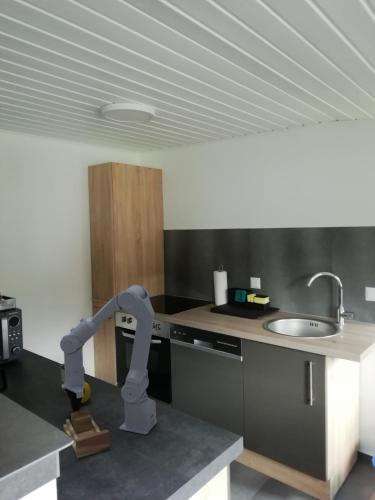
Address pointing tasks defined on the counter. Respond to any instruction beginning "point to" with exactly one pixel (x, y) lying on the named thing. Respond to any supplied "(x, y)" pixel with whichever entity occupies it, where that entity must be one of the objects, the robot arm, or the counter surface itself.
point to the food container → (64, 374)
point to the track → (88, 440)
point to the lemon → (86, 392)
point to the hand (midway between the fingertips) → (75, 410)
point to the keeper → (81, 421)
